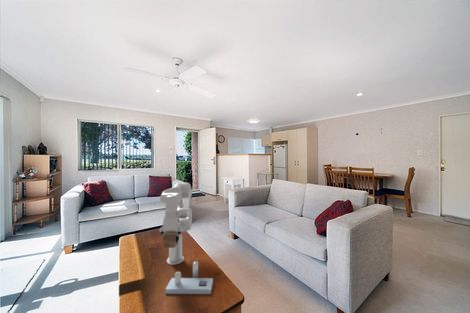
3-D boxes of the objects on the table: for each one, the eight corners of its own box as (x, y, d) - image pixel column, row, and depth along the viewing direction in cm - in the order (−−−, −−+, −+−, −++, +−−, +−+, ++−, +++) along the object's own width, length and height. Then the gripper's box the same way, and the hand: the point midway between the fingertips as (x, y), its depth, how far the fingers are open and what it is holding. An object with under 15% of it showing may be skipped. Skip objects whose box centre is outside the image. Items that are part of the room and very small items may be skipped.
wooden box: (167, 242, 122) (167, 228, 122) (178, 242, 122) (178, 229, 122) (163, 247, 115) (163, 233, 115) (174, 247, 115) (174, 233, 115)
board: (171, 281, 114) (171, 268, 114) (213, 282, 114) (213, 268, 114) (165, 293, 104) (165, 278, 104) (210, 293, 104) (210, 278, 104)
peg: (193, 276, 120) (193, 260, 120) (198, 276, 120) (198, 261, 120) (192, 279, 116) (192, 263, 116) (197, 279, 116) (197, 263, 116)
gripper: (186, 212, 123) (186, 239, 122) (160, 212, 123) (160, 239, 122) (183, 216, 115) (182, 244, 115) (155, 215, 115) (155, 244, 115)
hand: (171, 241), depth 119 cm, fingers closed on wooden box, 7 cm apart
